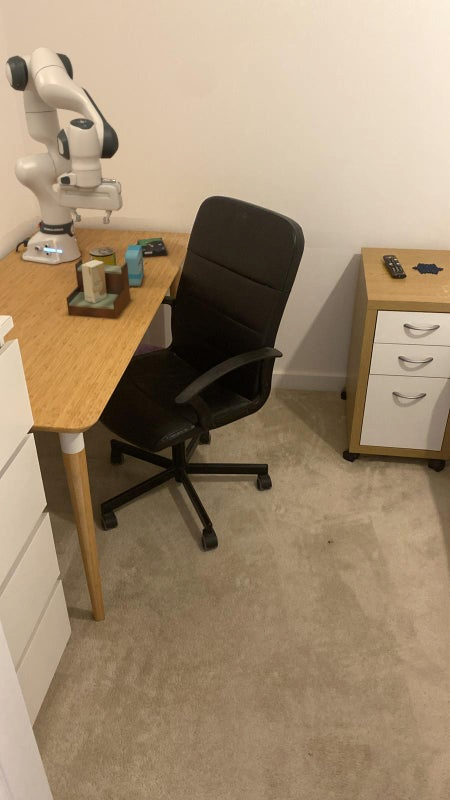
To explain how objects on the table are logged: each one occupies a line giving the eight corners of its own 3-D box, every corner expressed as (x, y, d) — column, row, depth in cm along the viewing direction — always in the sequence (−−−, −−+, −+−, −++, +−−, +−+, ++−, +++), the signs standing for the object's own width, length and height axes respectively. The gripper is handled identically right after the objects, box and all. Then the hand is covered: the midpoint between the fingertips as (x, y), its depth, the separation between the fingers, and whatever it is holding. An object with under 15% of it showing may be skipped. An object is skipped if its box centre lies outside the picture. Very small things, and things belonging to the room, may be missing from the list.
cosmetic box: (94, 304, 207) (90, 267, 201) (84, 301, 209) (80, 265, 203) (108, 297, 212) (104, 261, 205) (97, 294, 214) (94, 258, 207)
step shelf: (68, 315, 210) (63, 275, 203) (84, 296, 222) (80, 259, 215) (116, 318, 207) (112, 279, 200) (130, 300, 220) (127, 262, 213)
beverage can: (108, 277, 238) (105, 245, 231) (123, 283, 232) (120, 251, 226) (87, 283, 232) (84, 251, 226) (102, 290, 227) (99, 257, 220)
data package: (139, 288, 229) (137, 255, 223) (126, 287, 229) (124, 255, 223) (144, 275, 239) (141, 243, 233) (131, 275, 239) (129, 243, 233)
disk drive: (167, 256, 257) (161, 243, 269) (167, 249, 256) (161, 237, 268) (141, 258, 255) (136, 245, 267) (141, 251, 253) (136, 238, 266)
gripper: (123, 176, 198) (126, 221, 205) (60, 172, 201) (65, 217, 208) (117, 182, 193) (120, 227, 200) (52, 178, 196) (58, 223, 203)
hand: (92, 222), depth 204 cm, fingers open, 8 cm apart
